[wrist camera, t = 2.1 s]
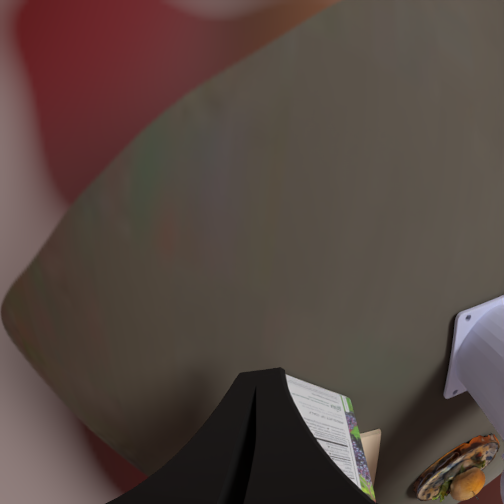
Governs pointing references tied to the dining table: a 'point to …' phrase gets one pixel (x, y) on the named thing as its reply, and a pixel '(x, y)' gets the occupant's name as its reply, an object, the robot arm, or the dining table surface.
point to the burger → (458, 471)
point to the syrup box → (333, 429)
